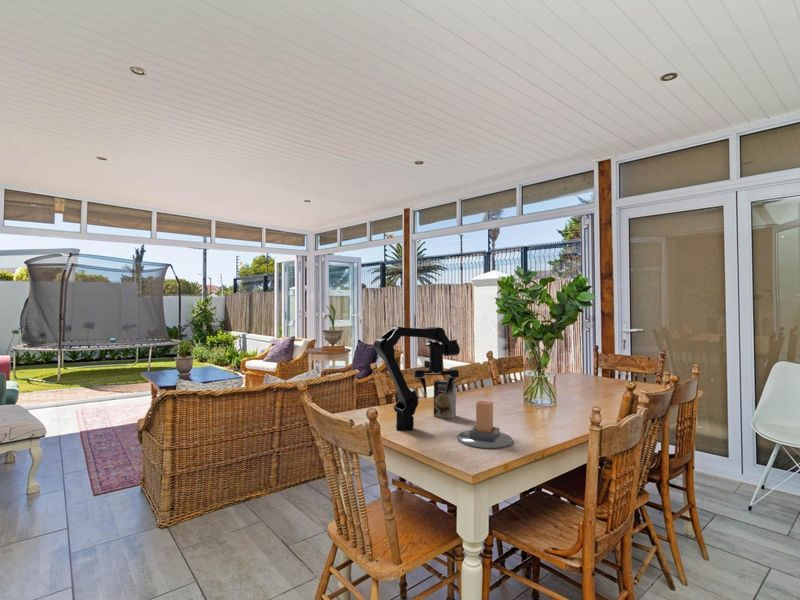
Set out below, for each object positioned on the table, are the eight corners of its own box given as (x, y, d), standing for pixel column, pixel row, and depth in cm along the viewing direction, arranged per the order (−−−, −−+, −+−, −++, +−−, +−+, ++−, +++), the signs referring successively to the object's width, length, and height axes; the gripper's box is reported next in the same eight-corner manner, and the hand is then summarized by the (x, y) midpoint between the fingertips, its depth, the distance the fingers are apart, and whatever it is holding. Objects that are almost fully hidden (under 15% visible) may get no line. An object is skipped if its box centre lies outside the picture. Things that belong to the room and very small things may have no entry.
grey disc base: (450, 443, 157) (450, 432, 157) (467, 429, 175) (467, 419, 175) (505, 452, 148) (505, 440, 148) (517, 436, 166) (517, 426, 166)
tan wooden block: (476, 438, 160) (476, 403, 161) (479, 434, 165) (480, 400, 165) (489, 440, 158) (489, 404, 158) (492, 436, 163) (492, 401, 163)
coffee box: (433, 416, 196) (433, 381, 196) (437, 413, 202) (437, 379, 202) (452, 418, 192) (452, 382, 192) (456, 415, 198) (456, 380, 198)
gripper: (454, 354, 193) (454, 389, 192) (412, 354, 192) (412, 389, 191) (459, 357, 182) (459, 394, 181) (415, 357, 180) (414, 395, 180)
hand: (436, 393), depth 184 cm, fingers open, 9 cm apart
